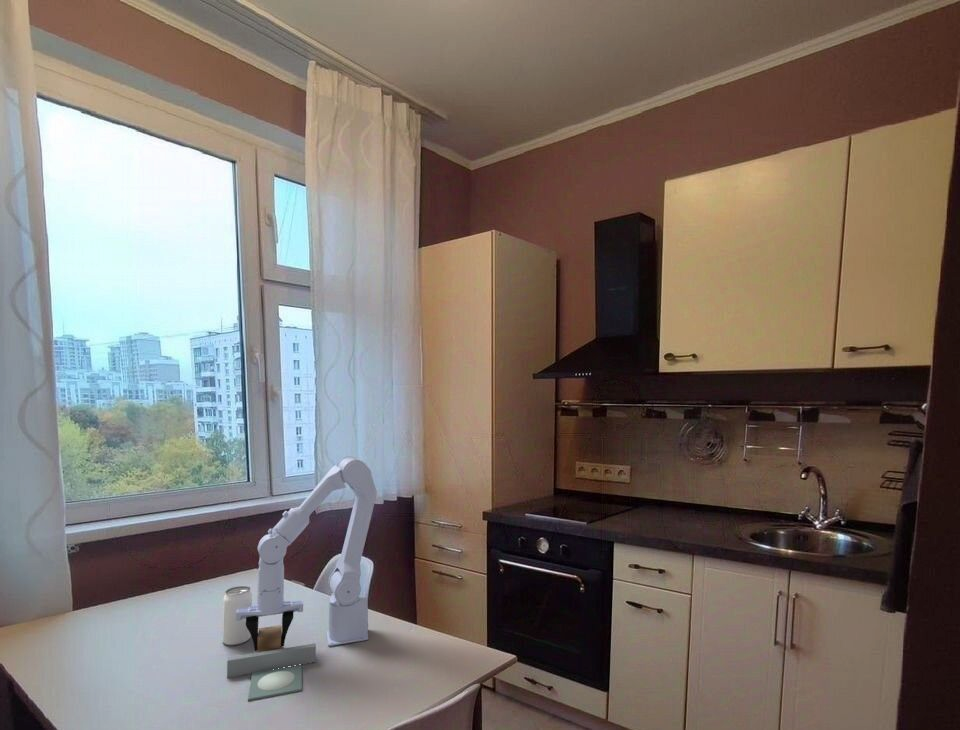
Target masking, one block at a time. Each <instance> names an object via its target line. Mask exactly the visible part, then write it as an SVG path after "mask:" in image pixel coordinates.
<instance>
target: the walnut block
mask: <svg viewBox="0 0 960 730" xmlns="http://www.w3.org/2000/svg"><path fill="white" fill-rule="evenodd" d="M281 636H282V624H280V625H278V624H277V625H273V626H272V625H271V626H266V627H265V626H264V627H260V628H259V627H258V642H257V652H256V653H259V652H265V651H271V650H277V649H282V647H281Z"/></svg>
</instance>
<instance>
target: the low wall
mask: <svg viewBox="0 0 960 730" xmlns="http://www.w3.org/2000/svg"><path fill="white" fill-rule="evenodd" d="M316 649H317V645H316V643H309V644H308V643H307V644H302V645H295V646H291V647H284V648H281V649H277V650H271V651H265V652H259V653H257V652H254V653H247V654H242V655H235V656H234V655H233V656H229V657H227V662H226V663H227V664H226V669H227V670H226V678H228V679H229V678H234V677H240V676H245V674H246V675H252V674H251V673H256V672H262V671H268V670H273V669H278V668H283V667H288V666H294V665H299V664H303V665H307V663H309V664H313V663H312V662H315V663H316V662H317V661H316V658H317V656H316V654H317V653H316V652H317V650H316Z"/></svg>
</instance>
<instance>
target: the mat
mask: <svg viewBox="0 0 960 730" xmlns="http://www.w3.org/2000/svg"><path fill="white" fill-rule="evenodd" d="M302 669H303V668H302V665H296V666H291V667H285V668H279V669H274V670H268V671H262V672H256V673H252V674H251V679H250V685H249V690H248V691H249V692H248V697H247V702H249V701H256V700H262V699H265V698H271V697H276V696H277V697H278V696H282V695H287V694H294V693H297V691H298V692H302V691H303V689H302V688H303V687H302V686H303V683H302V682H303V681H302V679H303V676H302V673H303V671H302Z"/></svg>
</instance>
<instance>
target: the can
mask: <svg viewBox="0 0 960 730" xmlns="http://www.w3.org/2000/svg"><path fill="white" fill-rule="evenodd" d="M251 606H253V593H252V591H251V587H250V586H247V585H239V586H233V587H230V588H228V589H226V590H225V595H224V596H223V603H222V630H221V631H222V633H221V634H222V635H221V636H222V637H221V638H222V640H221V641H222V643H223V644H224V645H225V646H238V645H242V644H244V643H246V642H247V641H249V640H250V638H252V637H251V634H250V632H249V630H248V629H247V627H246V619H241V620H240V621H236V611H237V609H242V608H247V607H251Z"/></svg>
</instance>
